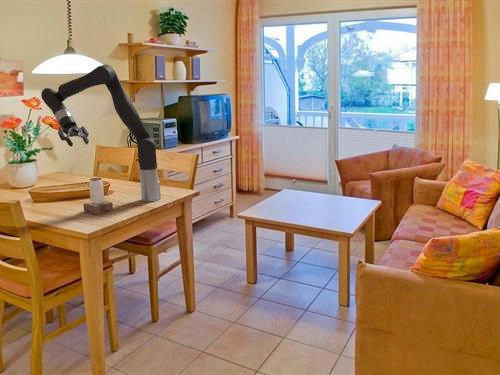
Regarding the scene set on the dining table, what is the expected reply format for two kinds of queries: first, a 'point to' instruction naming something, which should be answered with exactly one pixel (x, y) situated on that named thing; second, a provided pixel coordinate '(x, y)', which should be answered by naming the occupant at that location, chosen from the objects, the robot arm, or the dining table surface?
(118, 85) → the robot arm
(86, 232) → the dining table surface
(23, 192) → the dining table surface
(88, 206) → the pedestal
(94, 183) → the can
